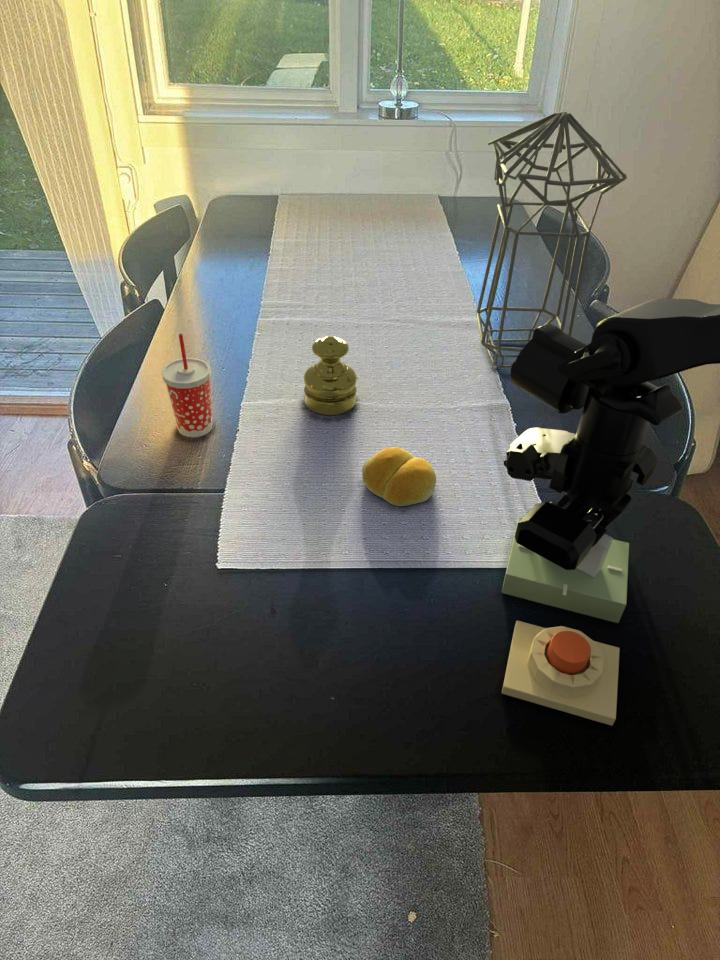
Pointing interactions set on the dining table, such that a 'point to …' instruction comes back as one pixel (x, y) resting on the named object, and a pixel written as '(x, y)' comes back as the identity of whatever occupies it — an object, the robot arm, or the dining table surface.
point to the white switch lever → (596, 556)
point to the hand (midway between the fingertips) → (570, 554)
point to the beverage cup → (189, 393)
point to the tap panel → (570, 582)
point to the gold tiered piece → (330, 379)
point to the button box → (562, 675)
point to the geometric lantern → (543, 133)
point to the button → (568, 652)
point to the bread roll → (399, 477)
